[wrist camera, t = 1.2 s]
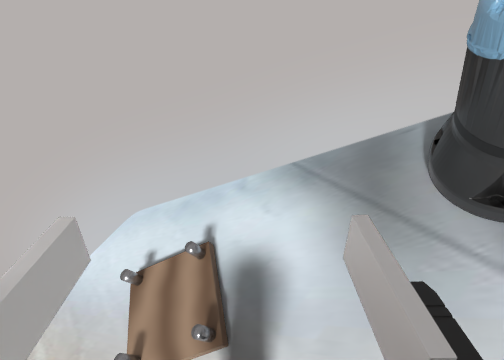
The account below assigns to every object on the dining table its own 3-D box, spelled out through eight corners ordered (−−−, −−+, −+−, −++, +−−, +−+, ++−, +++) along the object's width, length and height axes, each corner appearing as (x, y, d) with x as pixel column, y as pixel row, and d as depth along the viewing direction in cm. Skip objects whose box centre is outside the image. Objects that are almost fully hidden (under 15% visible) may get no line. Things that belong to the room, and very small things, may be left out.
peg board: (213, 245, 44) (198, 233, 41) (228, 346, 35) (210, 342, 32) (137, 277, 46) (117, 268, 43) (133, 379, 37) (107, 378, 34)
